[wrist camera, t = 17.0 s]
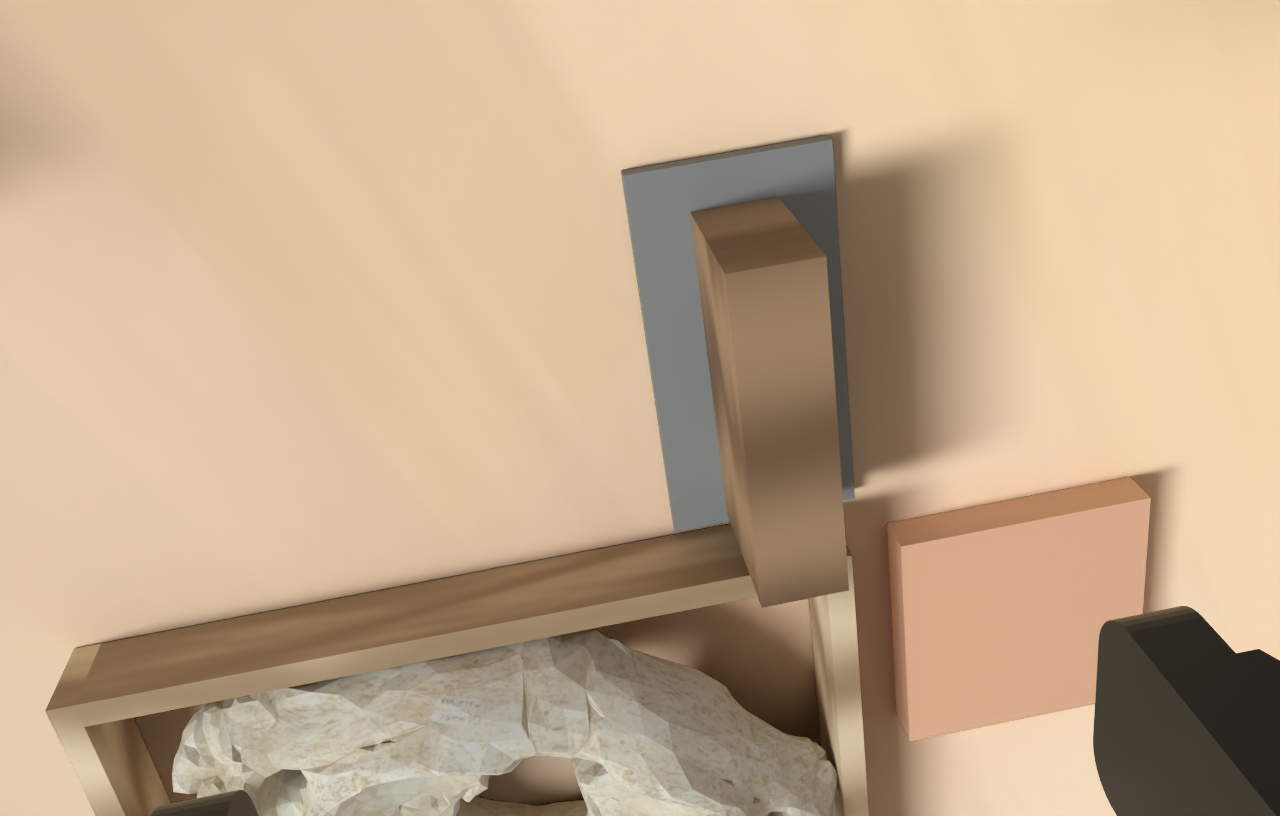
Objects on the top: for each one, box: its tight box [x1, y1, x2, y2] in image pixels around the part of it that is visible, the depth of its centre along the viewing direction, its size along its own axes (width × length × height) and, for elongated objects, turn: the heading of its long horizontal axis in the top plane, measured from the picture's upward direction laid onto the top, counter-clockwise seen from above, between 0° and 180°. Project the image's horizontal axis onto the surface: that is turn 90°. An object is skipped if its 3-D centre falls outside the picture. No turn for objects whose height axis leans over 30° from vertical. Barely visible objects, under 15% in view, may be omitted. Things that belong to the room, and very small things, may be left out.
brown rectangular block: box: [690, 197, 849, 607], centre depth 40 cm, size 12×3×6 cm, turn 8°
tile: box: [887, 477, 1151, 742], centre depth 49 cm, size 2×10×10 cm
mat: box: [621, 135, 855, 532], centre depth 42 cm, size 14×7×1 cm, turn 8°
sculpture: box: [172, 630, 838, 816], centre depth 47 cm, size 24×11×15 cm
